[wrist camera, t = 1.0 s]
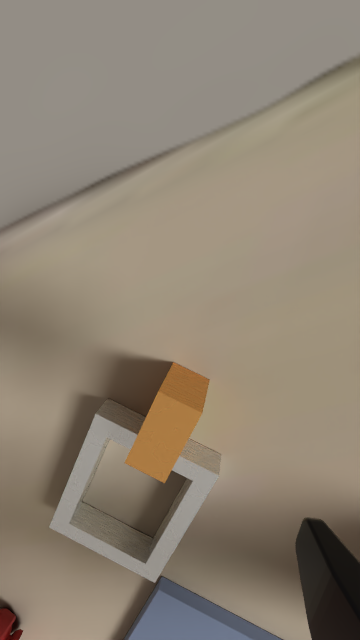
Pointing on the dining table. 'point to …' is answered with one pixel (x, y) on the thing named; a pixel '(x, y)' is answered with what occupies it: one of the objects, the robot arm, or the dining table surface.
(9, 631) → the headphones
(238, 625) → the keeper
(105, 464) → the dining table surface
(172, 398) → the grey frame with tab
